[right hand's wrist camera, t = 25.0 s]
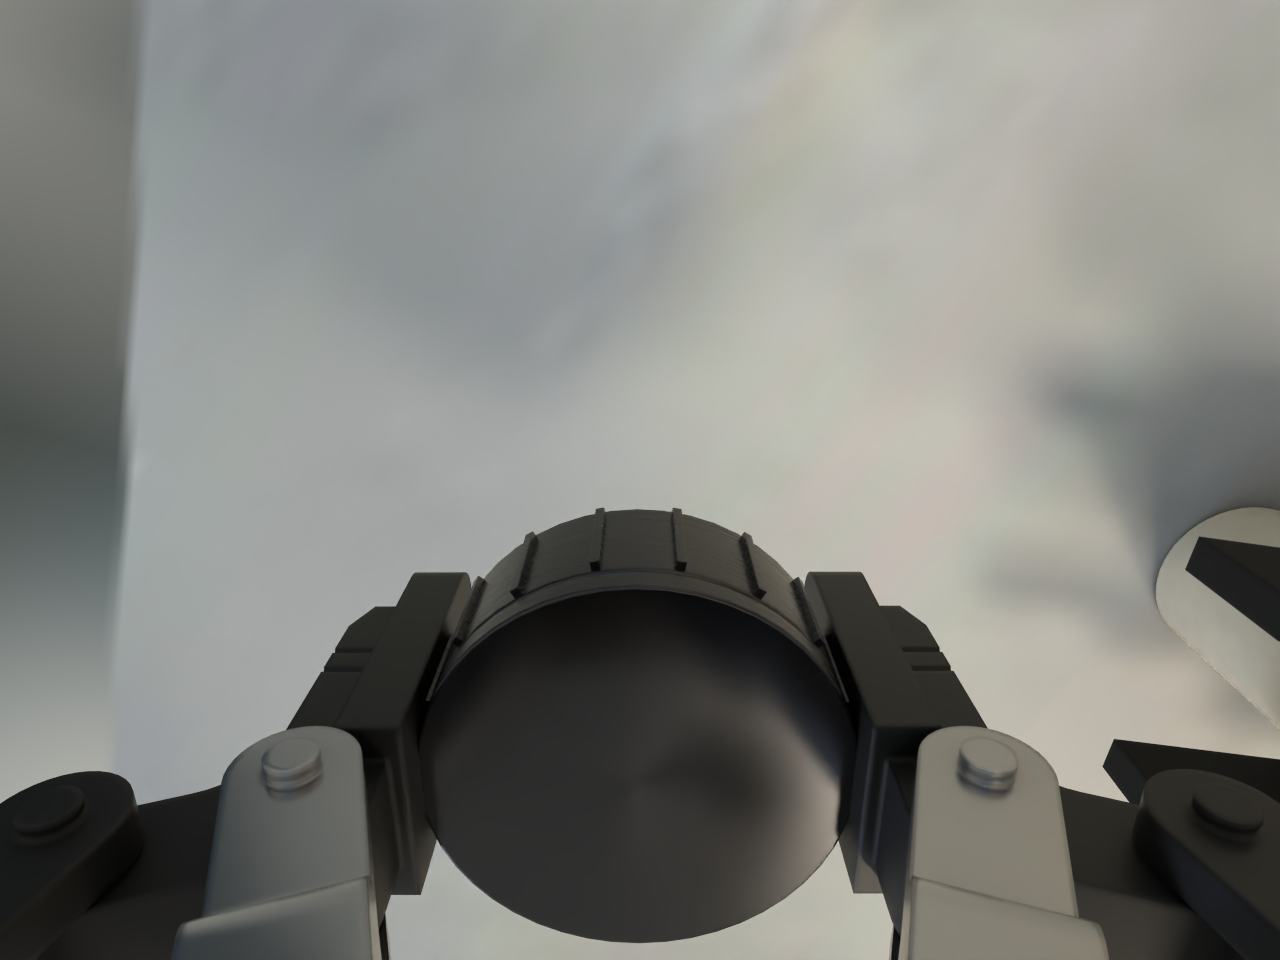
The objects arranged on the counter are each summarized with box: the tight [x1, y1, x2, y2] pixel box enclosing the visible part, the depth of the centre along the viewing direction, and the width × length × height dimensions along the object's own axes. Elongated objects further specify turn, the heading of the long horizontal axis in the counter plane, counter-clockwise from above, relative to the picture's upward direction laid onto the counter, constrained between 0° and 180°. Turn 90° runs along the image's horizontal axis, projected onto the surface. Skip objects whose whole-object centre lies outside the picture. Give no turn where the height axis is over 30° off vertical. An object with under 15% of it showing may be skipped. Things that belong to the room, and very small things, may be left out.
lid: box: [418, 508, 857, 943], centre depth 10 cm, size 5×5×2 cm
